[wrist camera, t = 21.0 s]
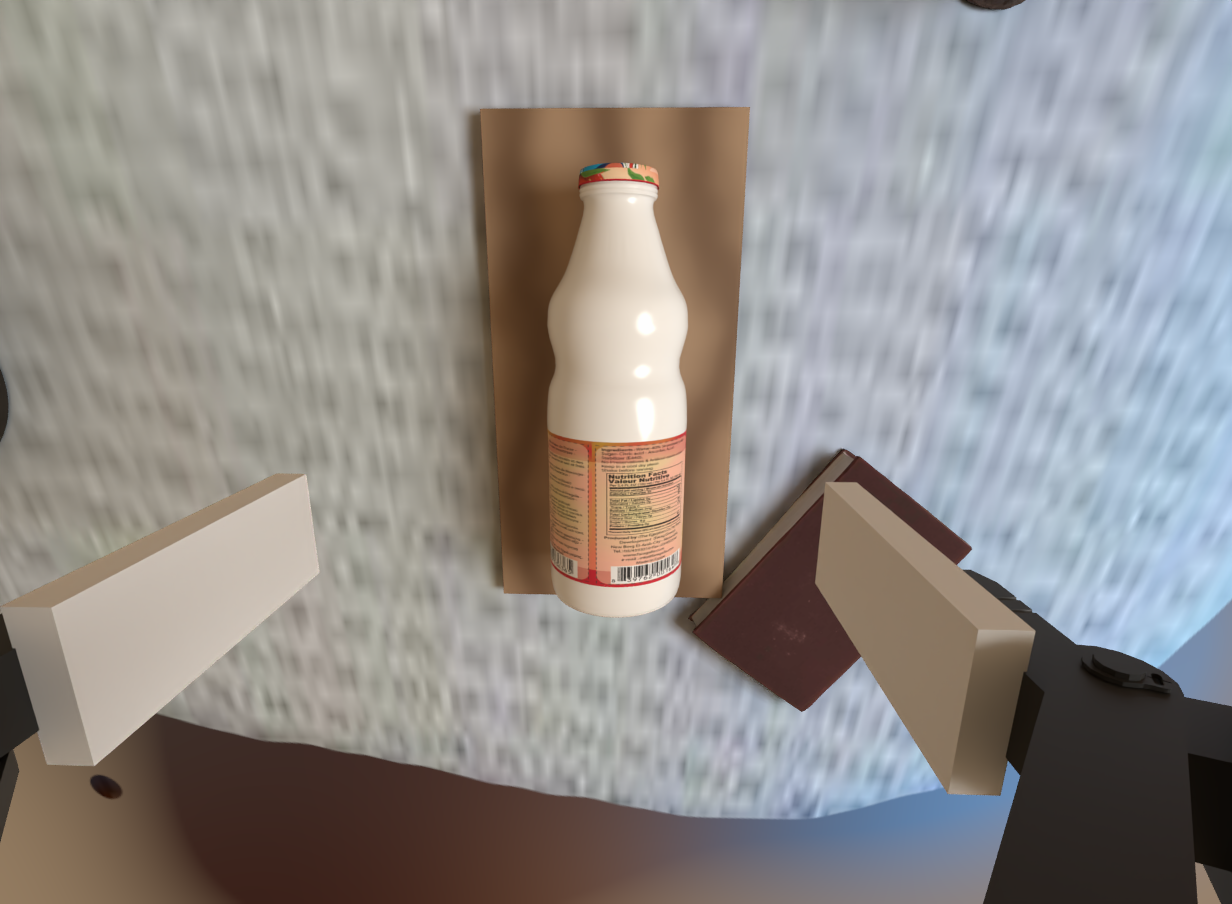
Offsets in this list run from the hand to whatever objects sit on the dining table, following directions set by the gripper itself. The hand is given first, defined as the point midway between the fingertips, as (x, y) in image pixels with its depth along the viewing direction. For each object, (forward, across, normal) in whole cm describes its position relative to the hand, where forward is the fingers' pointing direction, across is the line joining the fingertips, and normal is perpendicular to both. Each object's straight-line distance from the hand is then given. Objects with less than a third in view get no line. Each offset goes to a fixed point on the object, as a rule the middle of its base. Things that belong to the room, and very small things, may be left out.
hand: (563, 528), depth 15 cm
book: (+31, +17, -17) cm, 40 cm away
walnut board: (+31, 0, 0) cm, 31 cm away
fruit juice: (+25, 0, -15) cm, 29 cm away
